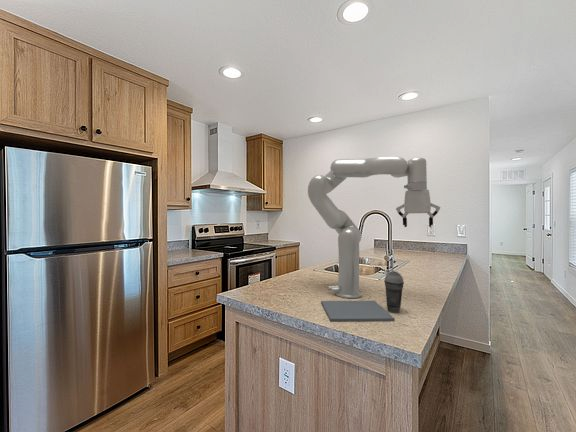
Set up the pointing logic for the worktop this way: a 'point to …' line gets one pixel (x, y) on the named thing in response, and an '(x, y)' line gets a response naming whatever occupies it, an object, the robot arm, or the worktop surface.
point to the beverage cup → (393, 290)
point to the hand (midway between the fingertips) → (417, 226)
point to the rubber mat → (355, 311)
